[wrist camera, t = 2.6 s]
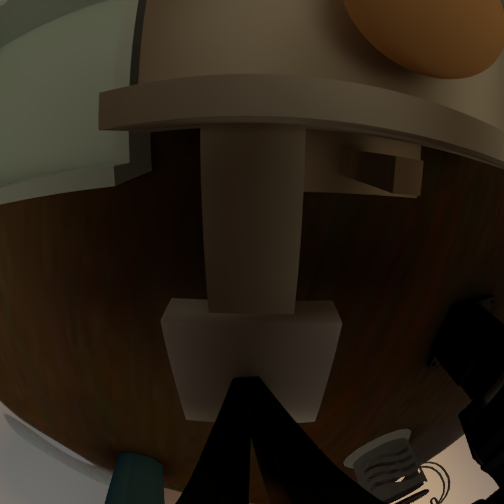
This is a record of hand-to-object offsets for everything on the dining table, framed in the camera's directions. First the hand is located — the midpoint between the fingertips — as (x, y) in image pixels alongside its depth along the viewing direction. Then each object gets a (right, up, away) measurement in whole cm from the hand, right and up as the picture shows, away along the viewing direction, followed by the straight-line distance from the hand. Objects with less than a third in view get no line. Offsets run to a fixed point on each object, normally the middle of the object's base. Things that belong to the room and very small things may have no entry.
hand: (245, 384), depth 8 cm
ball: (+4, +10, -5) cm, 12 cm away
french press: (+17, -21, +18) cm, 32 cm away
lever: (+5, +6, 0) cm, 8 cm away
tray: (-10, +12, +1) cm, 16 cm away
